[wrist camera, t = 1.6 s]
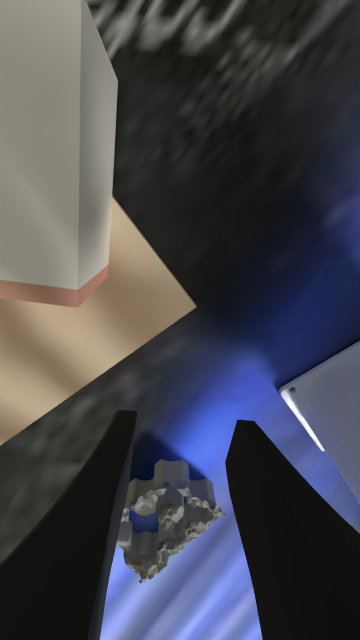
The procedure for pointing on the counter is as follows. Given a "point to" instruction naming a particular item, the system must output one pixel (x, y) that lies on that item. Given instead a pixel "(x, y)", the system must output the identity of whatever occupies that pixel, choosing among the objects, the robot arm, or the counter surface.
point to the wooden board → (84, 329)
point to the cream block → (54, 152)
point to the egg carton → (165, 516)
